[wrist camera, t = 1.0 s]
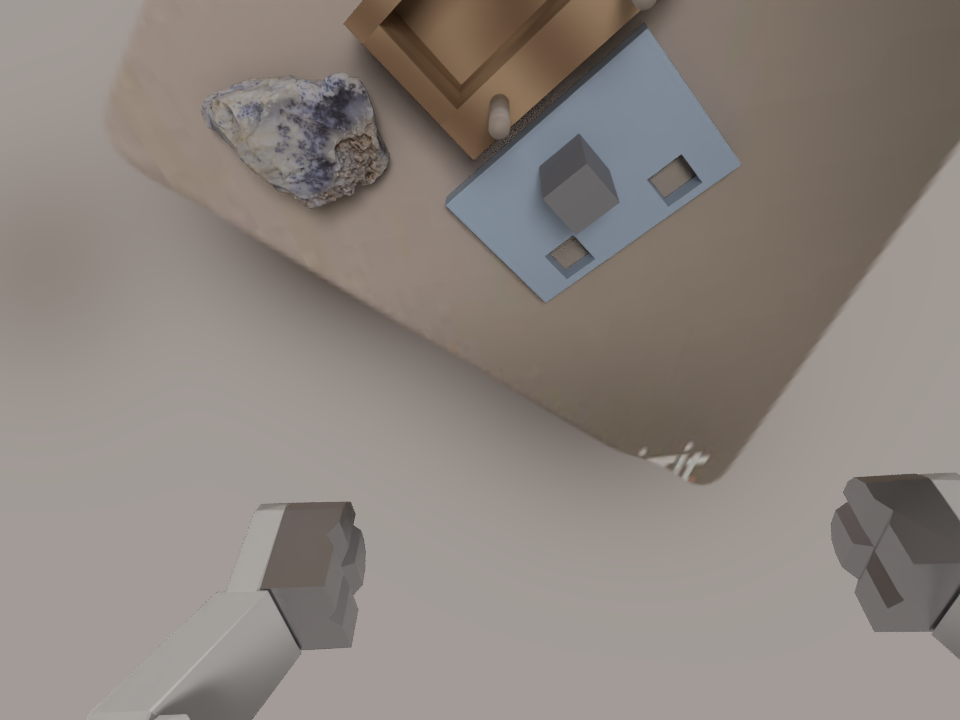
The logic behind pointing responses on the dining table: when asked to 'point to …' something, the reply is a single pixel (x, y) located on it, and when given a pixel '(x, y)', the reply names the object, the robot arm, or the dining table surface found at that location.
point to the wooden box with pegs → (485, 54)
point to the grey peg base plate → (593, 167)
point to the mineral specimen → (302, 134)
